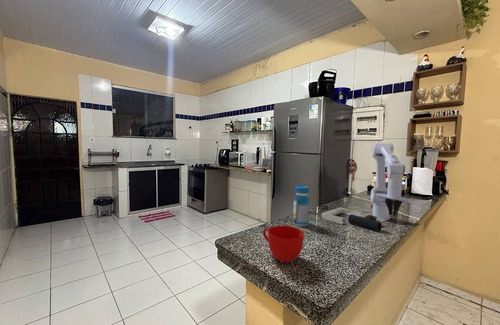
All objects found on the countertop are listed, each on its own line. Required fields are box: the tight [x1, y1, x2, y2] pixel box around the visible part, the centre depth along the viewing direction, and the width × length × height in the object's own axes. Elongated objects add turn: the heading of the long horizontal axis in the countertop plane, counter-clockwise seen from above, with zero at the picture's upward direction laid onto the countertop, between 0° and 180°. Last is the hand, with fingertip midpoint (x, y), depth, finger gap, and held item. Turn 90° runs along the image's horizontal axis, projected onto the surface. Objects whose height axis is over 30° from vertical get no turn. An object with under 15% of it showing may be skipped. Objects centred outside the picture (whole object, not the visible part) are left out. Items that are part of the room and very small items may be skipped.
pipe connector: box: [347, 214, 382, 233], centre depth 118 cm, size 12×5×15 cm
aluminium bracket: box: [321, 207, 362, 225], centre depth 131 cm, size 21×13×3 cm, turn 129°
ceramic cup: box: [262, 225, 305, 263], centre depth 83 cm, size 13×17×10 cm
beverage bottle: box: [292, 185, 311, 227], centre depth 118 cm, size 8×8×20 cm
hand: (392, 214), depth 110 cm, fingers closed
